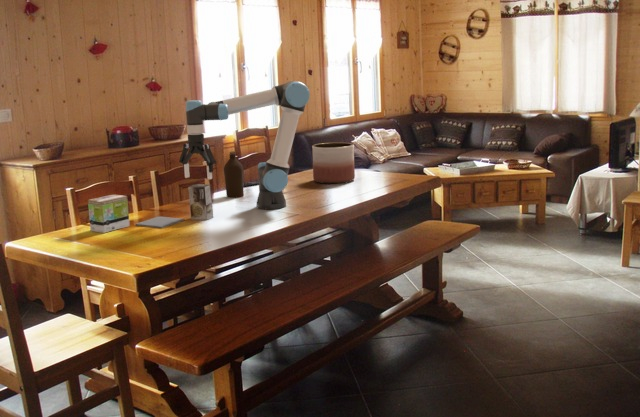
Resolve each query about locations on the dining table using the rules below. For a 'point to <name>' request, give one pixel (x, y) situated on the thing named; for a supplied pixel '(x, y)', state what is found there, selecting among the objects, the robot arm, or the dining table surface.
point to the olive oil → (233, 177)
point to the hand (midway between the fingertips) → (198, 178)
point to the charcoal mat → (160, 222)
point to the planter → (333, 163)
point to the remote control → (250, 184)
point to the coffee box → (200, 201)
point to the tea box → (108, 213)
